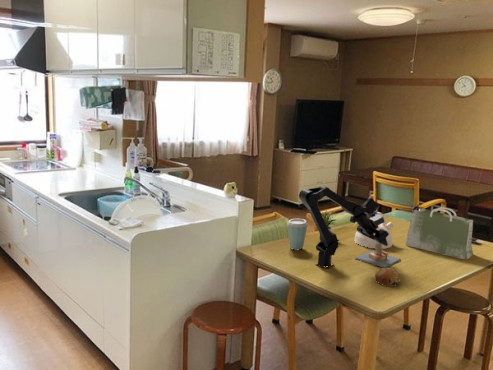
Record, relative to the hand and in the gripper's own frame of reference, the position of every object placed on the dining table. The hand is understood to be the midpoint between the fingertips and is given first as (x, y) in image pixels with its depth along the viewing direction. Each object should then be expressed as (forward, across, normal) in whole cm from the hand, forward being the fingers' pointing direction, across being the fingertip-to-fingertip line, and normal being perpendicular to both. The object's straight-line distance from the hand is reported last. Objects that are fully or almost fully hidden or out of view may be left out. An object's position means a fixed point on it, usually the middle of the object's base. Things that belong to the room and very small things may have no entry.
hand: (381, 242), depth 217 cm
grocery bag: (+36, +6, -23) cm, 43 cm away
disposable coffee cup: (-17, +25, +30) cm, 43 cm away
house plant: (-1, +38, +14) cm, 40 cm away
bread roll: (-4, -25, +17) cm, 30 cm away
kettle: (+16, +24, -3) cm, 28 cm away
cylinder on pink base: (+5, 0, +6) cm, 8 cm away
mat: (+6, 0, +7) cm, 9 cm away
